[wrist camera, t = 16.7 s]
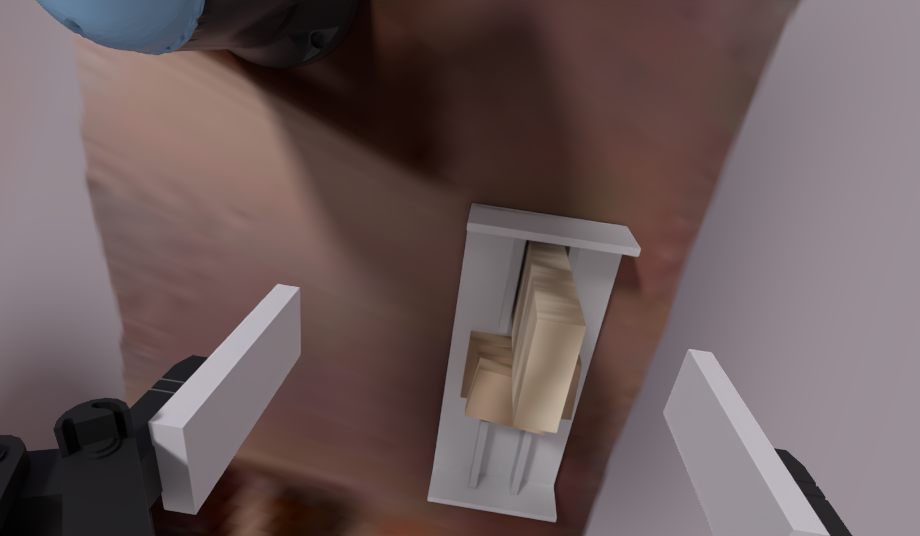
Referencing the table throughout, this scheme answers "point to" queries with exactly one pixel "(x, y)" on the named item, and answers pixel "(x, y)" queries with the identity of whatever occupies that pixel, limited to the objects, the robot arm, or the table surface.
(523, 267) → the tan wooden block
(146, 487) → the robot arm
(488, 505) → the rack
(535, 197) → the table surface
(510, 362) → the offcut middle
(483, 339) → the offcut bottom
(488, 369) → the offcut top
